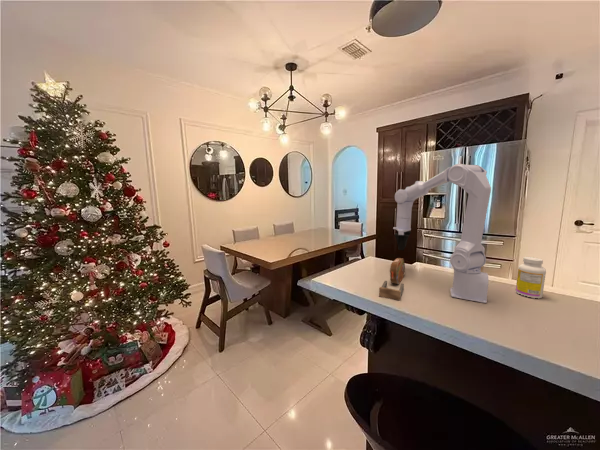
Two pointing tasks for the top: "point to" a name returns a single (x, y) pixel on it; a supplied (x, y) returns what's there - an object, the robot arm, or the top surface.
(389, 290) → the dock
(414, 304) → the top surface
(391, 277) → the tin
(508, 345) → the top surface
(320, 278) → the top surface
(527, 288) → the supplement bottle
